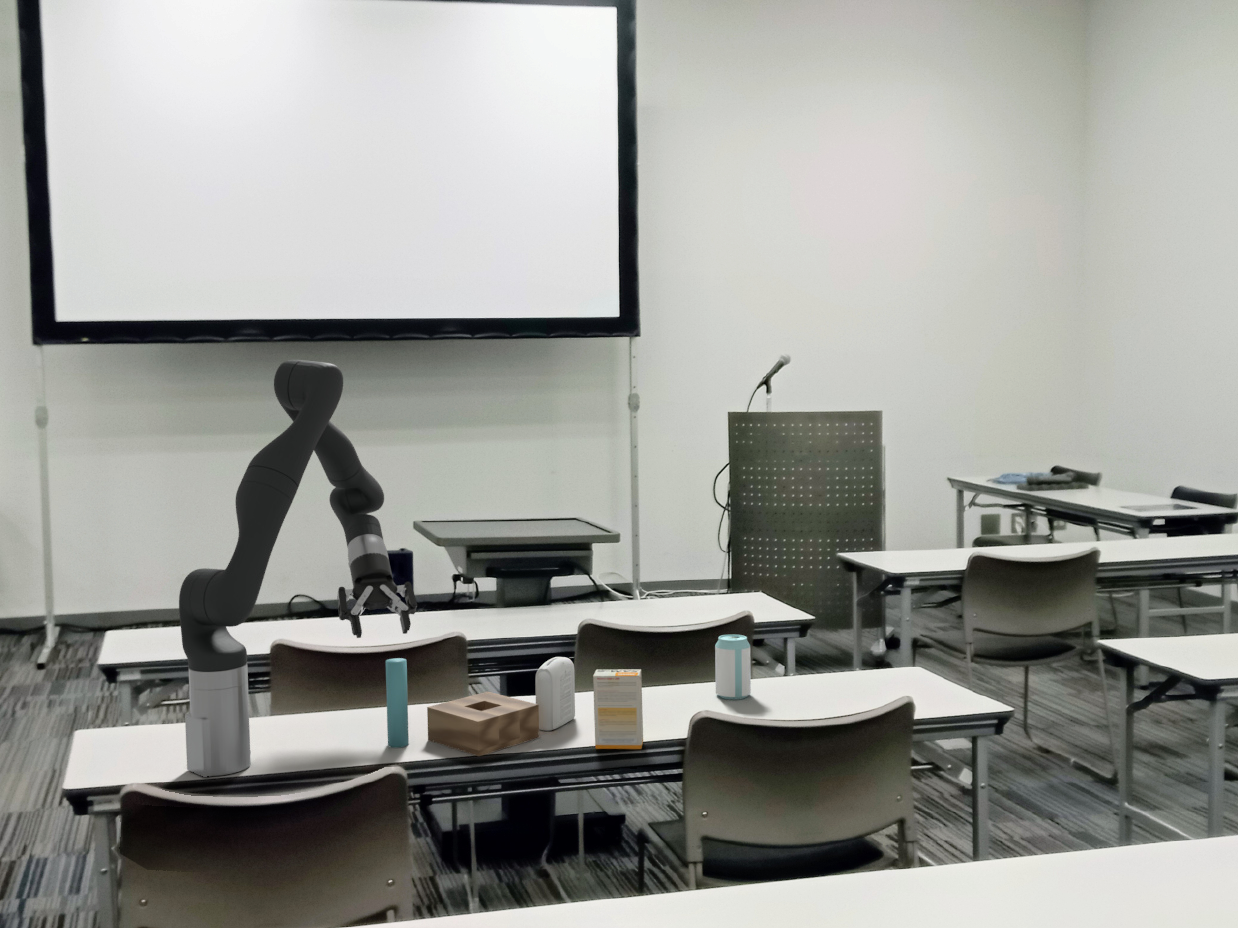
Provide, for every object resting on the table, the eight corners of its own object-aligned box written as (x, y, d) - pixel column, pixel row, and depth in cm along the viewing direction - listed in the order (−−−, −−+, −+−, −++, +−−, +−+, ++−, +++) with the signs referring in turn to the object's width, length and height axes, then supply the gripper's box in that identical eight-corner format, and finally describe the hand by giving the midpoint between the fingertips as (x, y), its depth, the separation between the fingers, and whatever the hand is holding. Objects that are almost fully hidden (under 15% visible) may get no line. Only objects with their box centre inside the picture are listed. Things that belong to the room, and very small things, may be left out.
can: (711, 692, 236) (711, 634, 235) (744, 690, 237) (744, 632, 236) (720, 701, 229) (720, 641, 228) (755, 699, 230) (754, 639, 229)
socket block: (478, 756, 196) (477, 721, 196) (428, 740, 206) (427, 706, 205) (539, 737, 206) (538, 704, 206) (488, 722, 216) (487, 691, 216)
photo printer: (557, 715, 220) (556, 651, 220) (578, 717, 219) (577, 653, 218) (532, 730, 211) (531, 663, 210) (553, 732, 209) (552, 665, 209)
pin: (395, 748, 201) (393, 663, 200) (383, 744, 203) (381, 660, 202) (412, 744, 204) (410, 660, 203) (400, 740, 206) (398, 657, 205)
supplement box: (643, 741, 203) (642, 668, 202) (641, 750, 198) (640, 675, 198) (597, 741, 204) (596, 668, 203) (593, 749, 199) (592, 674, 198)
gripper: (333, 554, 217) (345, 625, 207) (408, 549, 223) (424, 618, 213) (330, 577, 222) (341, 648, 212) (403, 572, 228) (418, 641, 218)
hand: (382, 633), depth 213 cm, fingers open, 8 cm apart
